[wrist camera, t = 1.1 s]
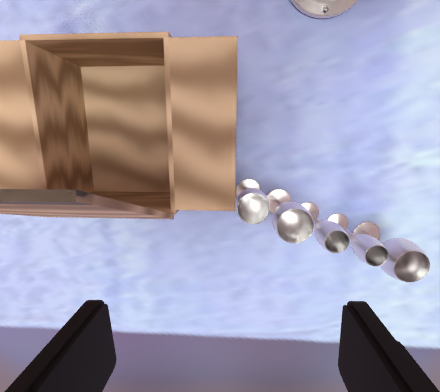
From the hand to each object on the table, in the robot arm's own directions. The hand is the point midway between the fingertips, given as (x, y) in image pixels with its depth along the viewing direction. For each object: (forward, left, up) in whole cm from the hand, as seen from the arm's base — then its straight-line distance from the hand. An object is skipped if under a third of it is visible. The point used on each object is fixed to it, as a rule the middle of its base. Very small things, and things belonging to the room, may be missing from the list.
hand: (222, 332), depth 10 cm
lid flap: (-1, -16, -14) cm, 21 cm away
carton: (-9, -16, -36) cm, 40 cm away
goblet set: (+6, +14, -36) cm, 39 cm away
